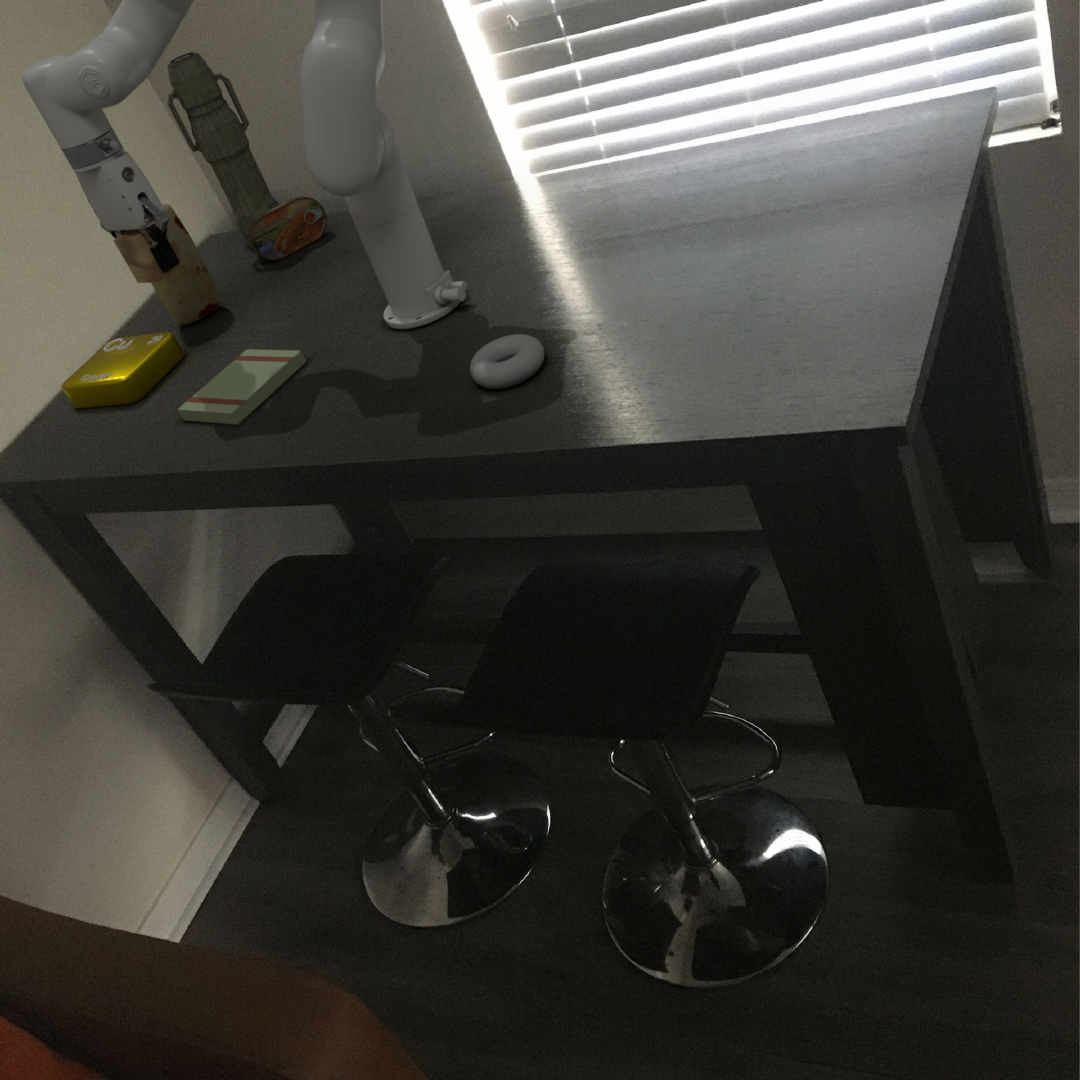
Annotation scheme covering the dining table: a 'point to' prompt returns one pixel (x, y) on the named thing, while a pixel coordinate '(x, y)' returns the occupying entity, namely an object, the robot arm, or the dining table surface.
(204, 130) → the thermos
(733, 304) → the dining table surface
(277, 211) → the tin
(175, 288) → the food model
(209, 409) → the towel
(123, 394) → the element tile
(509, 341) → the donut
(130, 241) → the block
